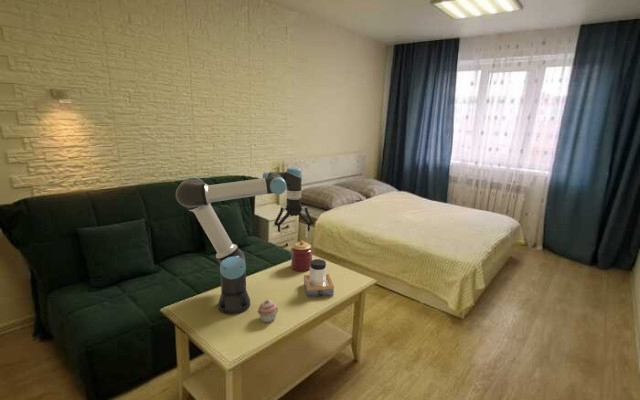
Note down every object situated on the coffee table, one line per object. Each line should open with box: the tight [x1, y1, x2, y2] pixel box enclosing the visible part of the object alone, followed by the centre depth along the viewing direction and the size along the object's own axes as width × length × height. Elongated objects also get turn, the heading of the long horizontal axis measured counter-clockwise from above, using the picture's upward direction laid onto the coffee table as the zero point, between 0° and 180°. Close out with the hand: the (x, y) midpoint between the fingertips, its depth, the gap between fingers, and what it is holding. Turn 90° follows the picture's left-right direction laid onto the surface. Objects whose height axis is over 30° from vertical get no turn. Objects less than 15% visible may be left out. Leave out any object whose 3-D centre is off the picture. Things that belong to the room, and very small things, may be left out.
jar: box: [309, 258, 327, 286], centre depth 176 cm, size 9×8×12 cm
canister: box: [290, 240, 313, 272], centre depth 203 cm, size 13×13×18 cm
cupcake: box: [257, 299, 279, 324], centre depth 150 cm, size 9×9×10 cm
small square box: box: [303, 273, 335, 298], centre depth 178 cm, size 14×15×6 cm
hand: (293, 237), depth 175 cm, fingers open, 13 cm apart
